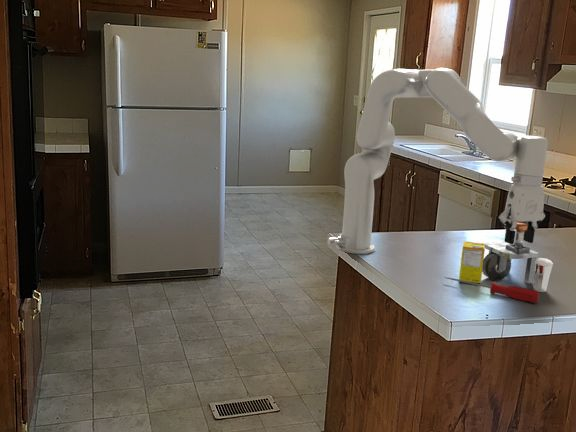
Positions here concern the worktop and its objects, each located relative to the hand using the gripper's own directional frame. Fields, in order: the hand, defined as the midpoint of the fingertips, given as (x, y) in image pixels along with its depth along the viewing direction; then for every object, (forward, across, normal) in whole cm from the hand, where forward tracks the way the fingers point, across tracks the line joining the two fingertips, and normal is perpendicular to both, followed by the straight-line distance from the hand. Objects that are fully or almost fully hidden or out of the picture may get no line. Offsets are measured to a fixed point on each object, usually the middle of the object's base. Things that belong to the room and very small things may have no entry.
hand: (518, 241), depth 172 cm
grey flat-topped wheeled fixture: (+12, -3, +2) cm, 12 cm away
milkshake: (+12, +2, -9) cm, 15 cm away
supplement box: (+12, -14, +2) cm, 18 cm away
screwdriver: (+12, -14, -7) cm, 20 cm away
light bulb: (+2, 0, 0) cm, 2 cm away
